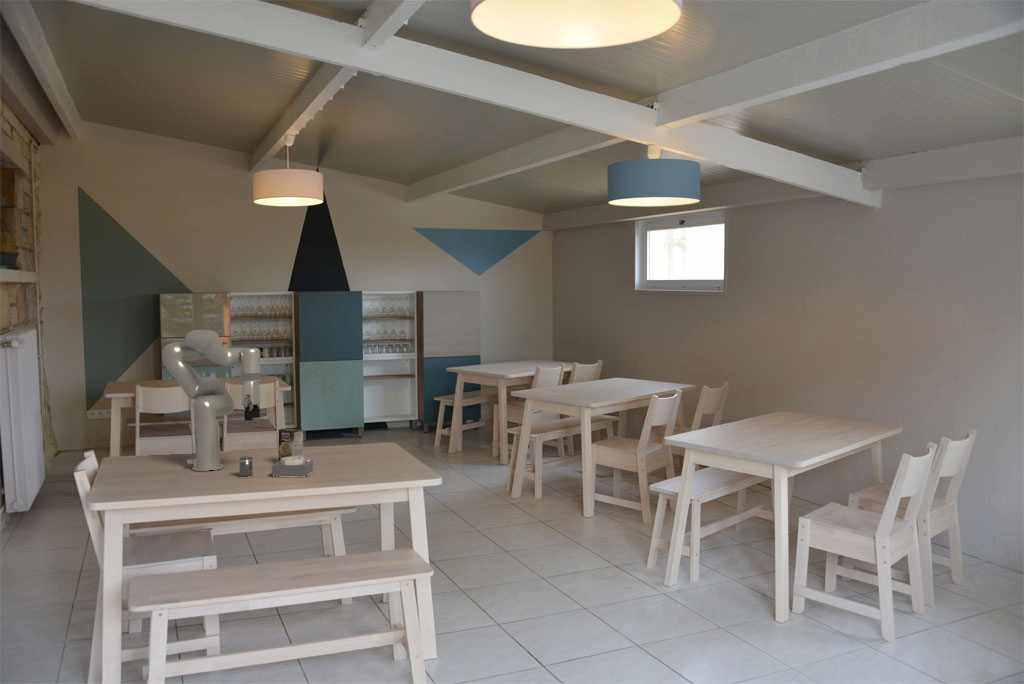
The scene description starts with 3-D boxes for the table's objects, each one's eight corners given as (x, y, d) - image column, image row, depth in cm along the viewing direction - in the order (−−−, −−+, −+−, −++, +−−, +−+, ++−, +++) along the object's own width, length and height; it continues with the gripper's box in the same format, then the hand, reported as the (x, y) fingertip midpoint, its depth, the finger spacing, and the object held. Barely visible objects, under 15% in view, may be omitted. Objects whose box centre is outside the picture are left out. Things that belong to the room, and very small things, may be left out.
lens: (237, 478, 308) (237, 458, 308) (241, 475, 313) (241, 455, 313) (250, 478, 308) (250, 458, 308) (254, 475, 313) (254, 455, 313)
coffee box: (277, 465, 335) (277, 429, 334) (288, 463, 341) (288, 427, 340) (293, 467, 331) (293, 430, 330) (303, 465, 336) (303, 429, 336)
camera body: (272, 477, 310) (272, 460, 309) (279, 472, 320) (279, 456, 319) (306, 477, 310) (306, 460, 309) (312, 472, 320) (312, 456, 319)
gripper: (248, 376, 322) (249, 417, 322) (235, 379, 305) (236, 421, 305) (266, 376, 322) (267, 416, 323) (254, 378, 305) (255, 421, 305)
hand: (252, 419), depth 314 cm, fingers open, 9 cm apart
